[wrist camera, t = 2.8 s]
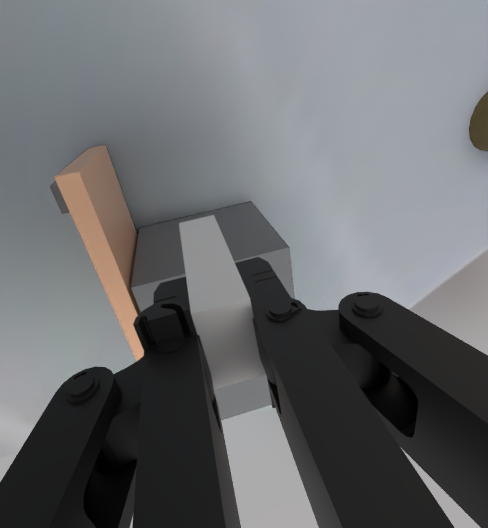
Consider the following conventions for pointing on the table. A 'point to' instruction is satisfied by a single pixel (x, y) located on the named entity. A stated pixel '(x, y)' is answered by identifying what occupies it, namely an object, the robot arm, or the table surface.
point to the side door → (103, 230)
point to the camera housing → (241, 248)
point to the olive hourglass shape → (480, 124)
